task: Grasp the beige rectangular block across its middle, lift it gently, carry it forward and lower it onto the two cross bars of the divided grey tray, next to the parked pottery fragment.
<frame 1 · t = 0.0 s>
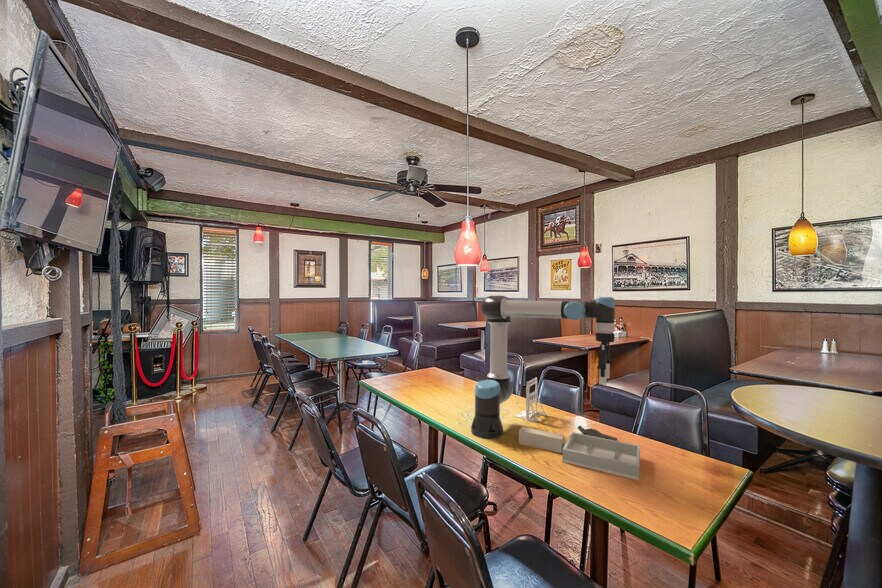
hand: (604, 381, 153), 28 cm above the table, fingers open, 13 cm apart
film strip holder: (530, 416, 190), on the table
divided grey tray: (601, 459, 140), on the table
beige rectangular block: (541, 446, 152), on the table
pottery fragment: (597, 439, 161), on the table
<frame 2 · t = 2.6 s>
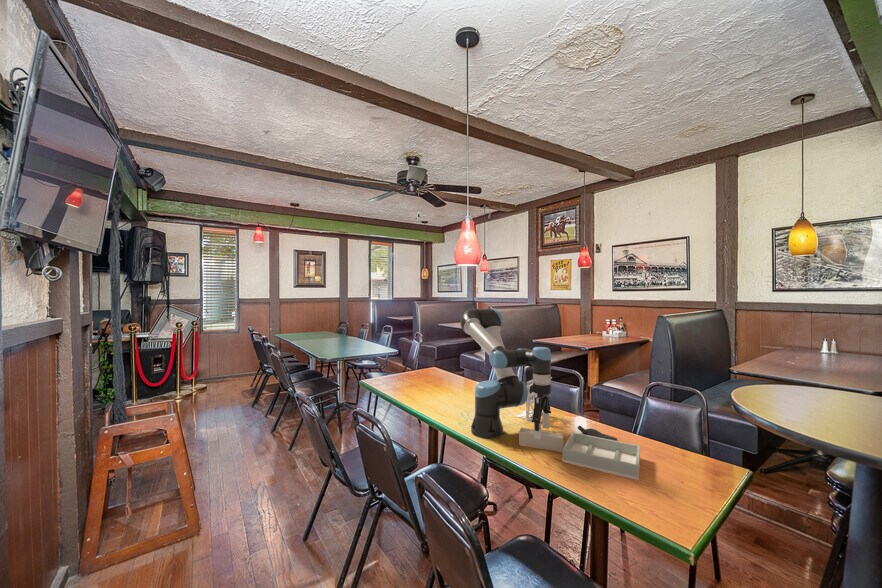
hand: (541, 433, 151), 6 cm above the table, fingers open, 13 cm apart
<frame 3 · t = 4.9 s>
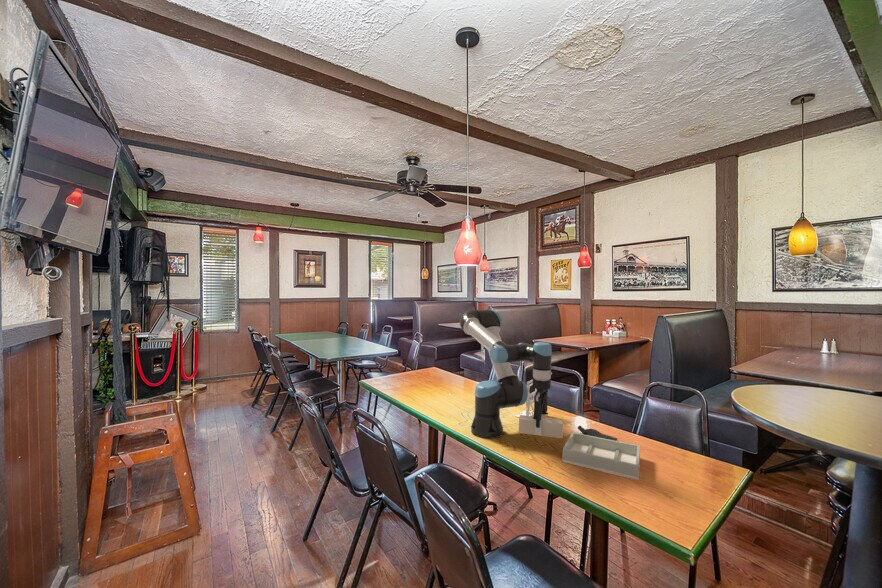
hand: (540, 431, 153), 6 cm above the table, fingers closed on beige rectangular block, 6 cm apart
beige rectangular block: (540, 433, 153), point 5 cm above the table, touching gripper
everything else where it was.
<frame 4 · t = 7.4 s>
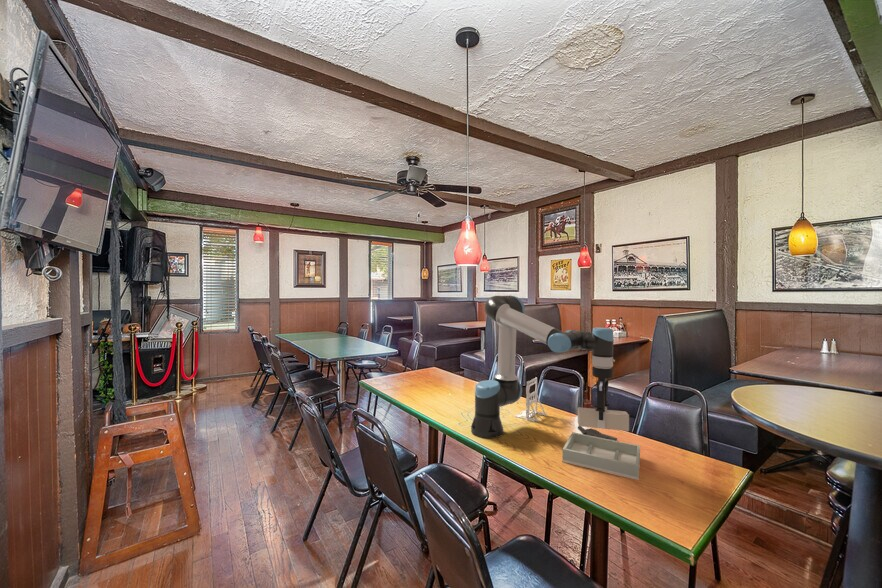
hand: (602, 425, 140), 14 cm above the table, fingers closed on beige rectangular block, 6 cm apart
beige rectangular block: (602, 426, 140), point 13 cm above the table, touching gripper
everything else where it was.
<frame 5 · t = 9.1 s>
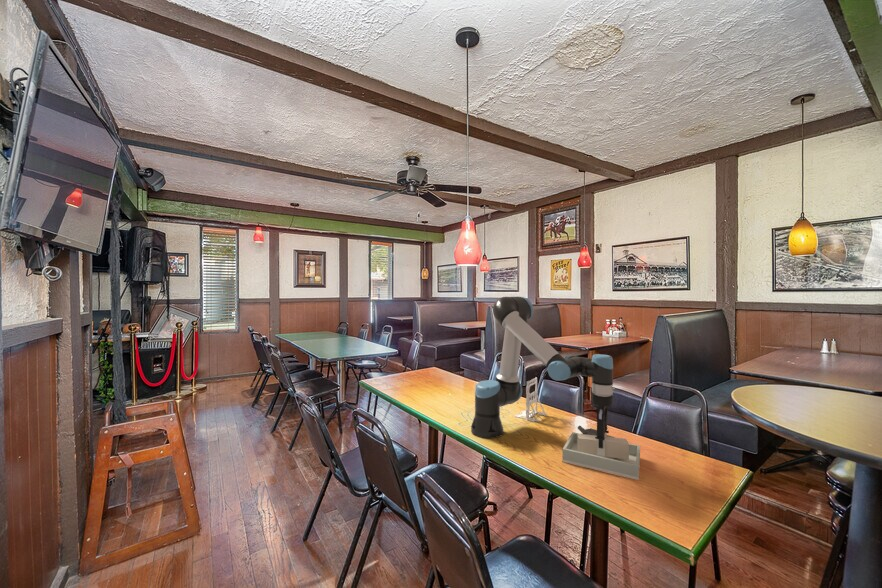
hand: (602, 452, 140), 3 cm above the table, fingers closed on beige rectangular block, 6 cm apart
beige rectangular block: (602, 453, 140), point 2 cm above the table, touching gripper
everything else where it was.
when the fingers open (2 cm above the table, at t = 10.1 s): beige rectangular block stays where it is, resting on divided grey tray.
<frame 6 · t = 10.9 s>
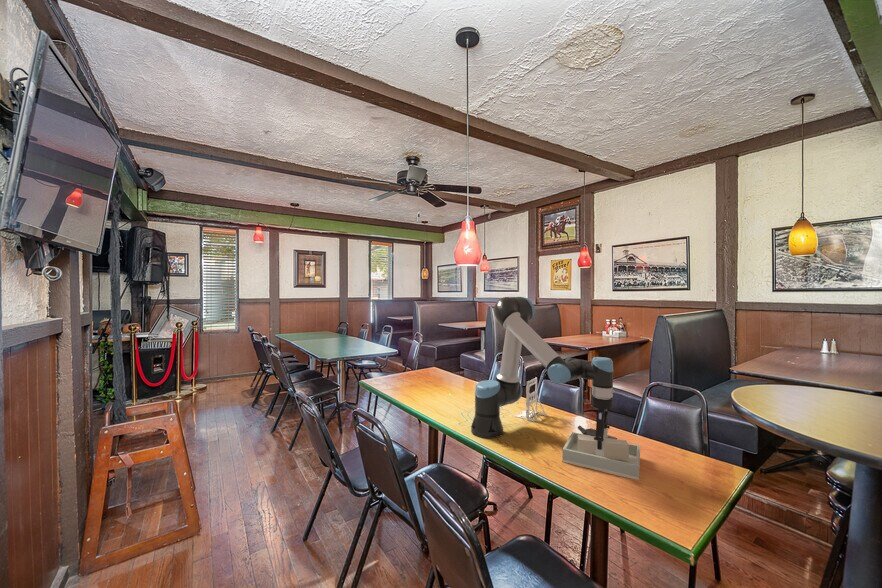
hand: (601, 450, 140), 4 cm above the table, fingers open, 13 cm apart
beige rectangular block: (602, 454, 140), point 2 cm above the table, touching divided grey tray
everything else where it was.
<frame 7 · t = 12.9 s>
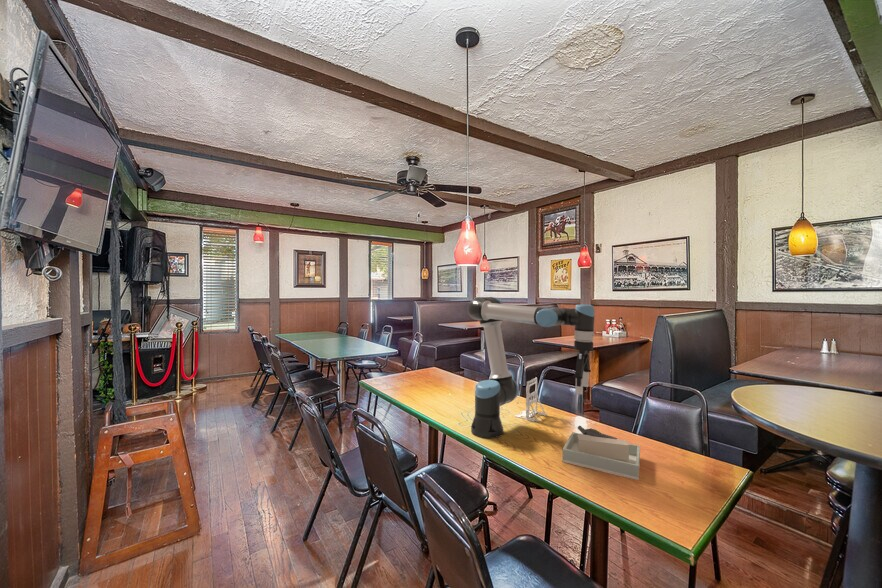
hand: (581, 390, 151), 25 cm above the table, fingers open, 13 cm apart
nothing on the table moved.
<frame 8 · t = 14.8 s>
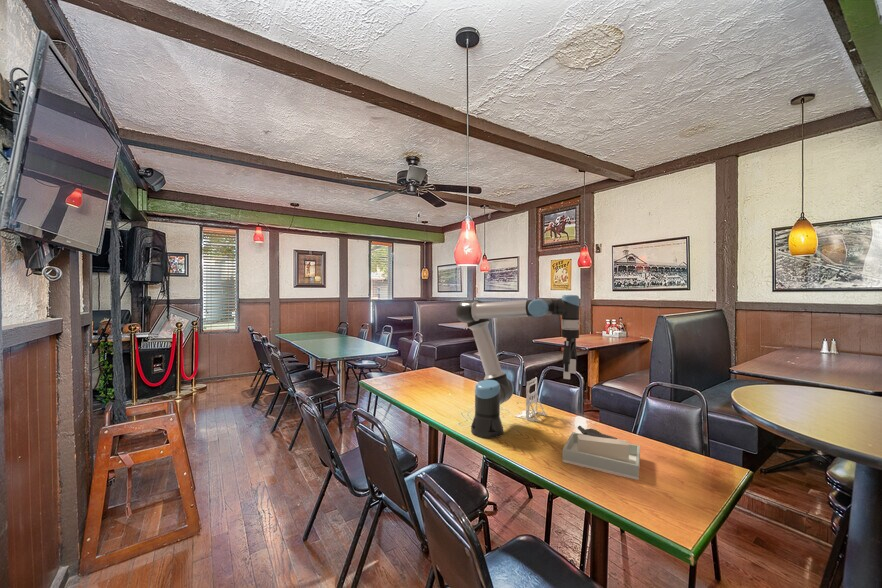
hand: (569, 376, 159), 29 cm above the table, fingers open, 13 cm apart
nothing on the table moved.
at the end: beige rectangular block inside the target area on the divided grey tray (0.1 cm from its centre), point 2.0 cm above the divided grey tray's base; the gripper is holding nothing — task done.
